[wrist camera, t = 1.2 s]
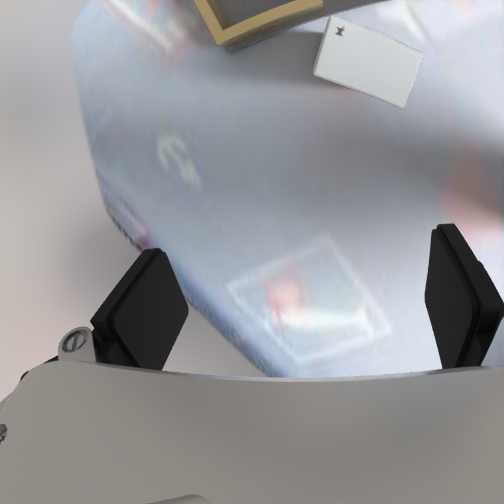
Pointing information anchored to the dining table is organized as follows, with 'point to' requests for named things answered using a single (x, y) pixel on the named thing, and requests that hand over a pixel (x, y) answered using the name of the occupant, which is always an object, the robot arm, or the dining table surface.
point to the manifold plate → (265, 17)
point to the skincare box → (367, 61)
